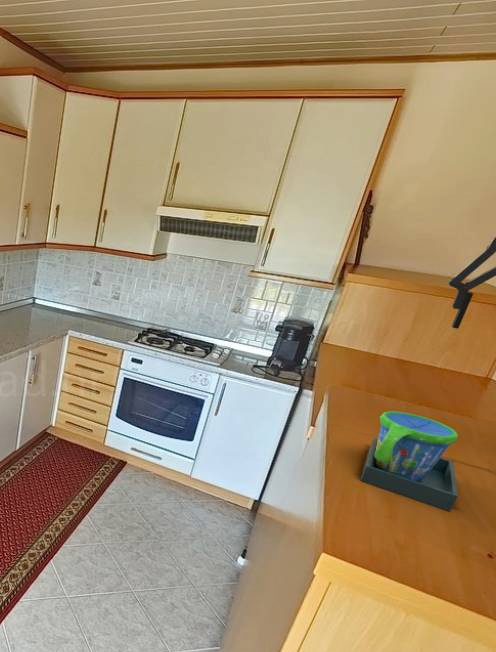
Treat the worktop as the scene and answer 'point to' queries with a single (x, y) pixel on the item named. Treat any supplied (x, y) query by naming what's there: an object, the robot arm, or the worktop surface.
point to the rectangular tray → (416, 482)
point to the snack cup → (411, 444)
